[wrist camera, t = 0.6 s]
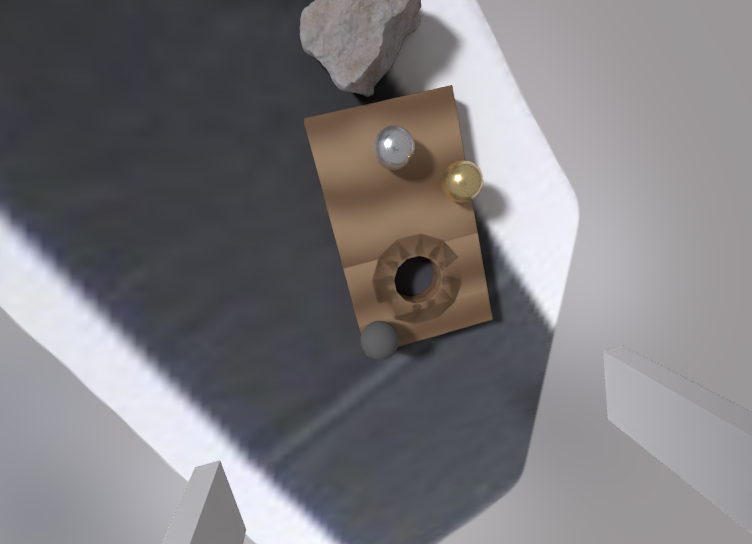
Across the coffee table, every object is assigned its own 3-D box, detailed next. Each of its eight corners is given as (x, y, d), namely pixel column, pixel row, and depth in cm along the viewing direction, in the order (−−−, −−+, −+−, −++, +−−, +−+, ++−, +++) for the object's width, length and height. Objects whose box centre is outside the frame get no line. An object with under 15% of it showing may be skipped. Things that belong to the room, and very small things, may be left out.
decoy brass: (432, 167, 33) (445, 164, 30) (469, 157, 34) (486, 154, 30) (440, 205, 34) (453, 207, 31) (476, 196, 34) (493, 197, 31)
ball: (365, 133, 32) (371, 127, 28) (404, 124, 32) (414, 117, 29) (375, 175, 33) (381, 173, 29) (413, 165, 33) (424, 162, 30)
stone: (371, -44, 32) (383, -94, 26) (431, 40, 34) (454, 9, 28) (286, 38, 32) (279, 5, 26) (350, 115, 34) (357, 101, 28)
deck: (304, 124, 33) (303, 118, 31) (442, 92, 34) (452, 85, 32) (363, 345, 39) (366, 355, 36) (482, 311, 40) (492, 319, 37)
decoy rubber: (354, 321, 35) (358, 334, 32) (390, 311, 36) (397, 323, 32) (363, 354, 36) (368, 371, 33) (398, 344, 36) (406, 359, 33)
